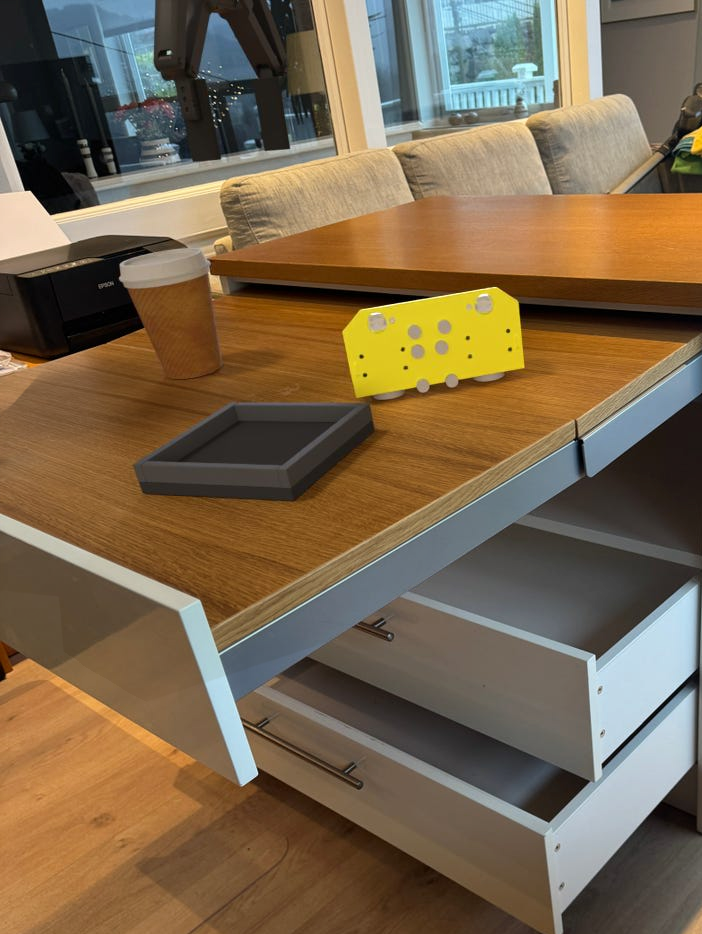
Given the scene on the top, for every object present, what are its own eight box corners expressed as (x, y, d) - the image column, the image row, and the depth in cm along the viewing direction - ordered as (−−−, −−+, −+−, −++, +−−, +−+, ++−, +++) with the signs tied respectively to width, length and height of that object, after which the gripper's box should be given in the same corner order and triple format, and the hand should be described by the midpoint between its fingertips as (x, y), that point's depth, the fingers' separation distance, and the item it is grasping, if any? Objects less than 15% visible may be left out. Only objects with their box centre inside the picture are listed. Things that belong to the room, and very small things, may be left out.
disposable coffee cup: (239, 352, 105) (210, 242, 98) (234, 375, 97) (202, 257, 90) (157, 366, 104) (122, 256, 98) (146, 390, 96) (107, 272, 90)
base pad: (142, 493, 71) (131, 464, 70) (238, 428, 82) (231, 402, 80) (293, 501, 66) (285, 469, 65) (375, 430, 77) (369, 402, 76)
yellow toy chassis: (358, 408, 83) (339, 315, 78) (353, 390, 87) (336, 301, 83) (526, 377, 84) (517, 284, 79) (513, 362, 89) (504, 273, 84)
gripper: (142, -151, 68) (207, 163, 79) (297, -102, 88) (332, 144, 99) (63, -135, 71) (137, 168, 82) (232, -90, 91) (273, 148, 102)
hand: (244, 155), depth 90 cm, fingers open, 13 cm apart
